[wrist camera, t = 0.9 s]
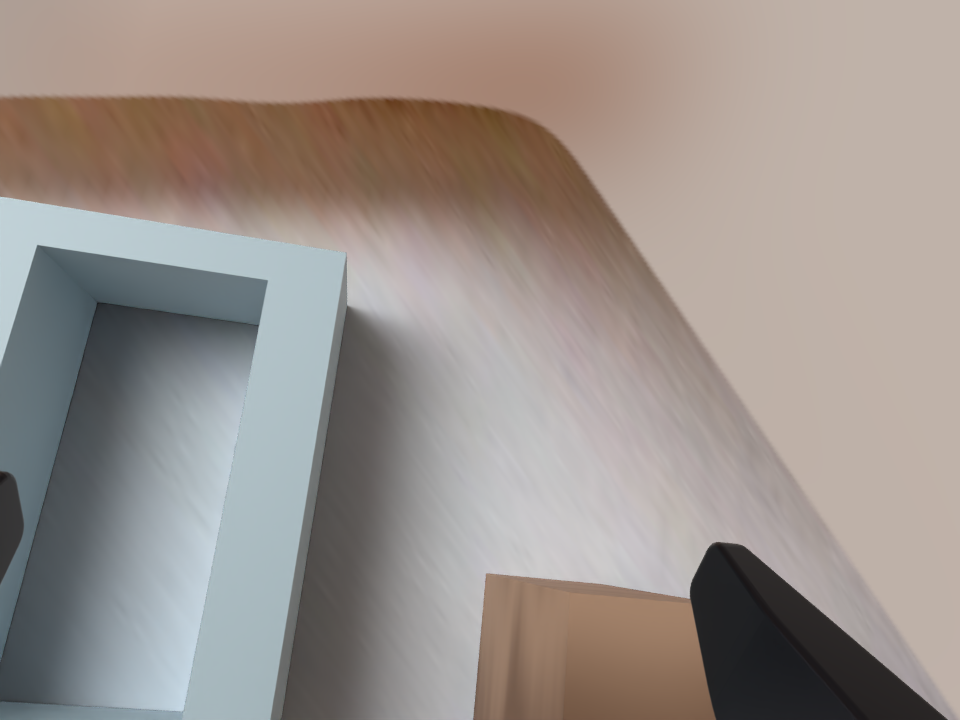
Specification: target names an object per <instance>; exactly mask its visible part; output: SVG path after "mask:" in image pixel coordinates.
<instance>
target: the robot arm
mask: <svg viewBox="0 0 960 720" xmlns="http://www.w3.org/2000/svg"><path fill="white" fill-rule="evenodd" d="M23 532H24V517H23V512H22V507H21V501H20V496H19V491H18V485H17V481H16V478H15V477H14V476H13V475H12V474H11V473H9V472H6V471H0V585H1V583H2V581H3V578H4V576H5V574H6V572H7V570H8V568H9V566H10V564H11V561H12V559H13V557H14V555H15V553H16V551H17V549H18V547H19V545H20V542H21V540H22V536H23ZM690 600H691V605H692V611H693V616H694V621H695V626H696V631H697V636H698V641H699V646H700V651H701V656H702V661H703V666H704V671H705V676H706V681H707V686H708V691H709V695H710V700H711V704H712V708H713V711H714V715H715V718H716V720H947V719H946V718H945V717H944V716H943V715H942V714H940V713H939V712H938V711H937V710H936V709H935V708H933V707H932V706H931V705H930V704H929V703H928V702H926V701H925V700H924V699H923V698H922V697H921V696H919V695H918V694H917V693H916V692H915V691H913V690H912V689H911V688H910V687H909V686H908V685H906V684H905V683H904V682H903V681H902V680H901V679H899V678H898V677H897V676H896V675H895V674H894V673H892V672H891V671H890V670H889V669H888V668H887V667H885V666H884V665H883V664H882V663H881V662H879V661H878V660H877V659H876V658H875V657H874V656H872V655H871V654H870V653H869V652H868V651H867V650H865V649H864V648H863V647H862V646H861V645H860V644H858V643H857V642H856V641H855V640H854V639H853V638H851V637H850V636H849V635H848V634H847V633H845V632H844V631H843V630H842V629H841V628H840V627H838V626H837V625H836V624H835V623H834V622H833V621H831V620H830V619H829V618H828V617H827V616H826V615H824V614H823V613H822V612H821V611H820V610H819V609H817V608H816V607H815V606H814V605H813V604H811V603H810V602H809V601H808V600H807V599H806V598H804V597H803V596H802V595H801V594H800V593H799V592H797V591H796V590H795V589H794V588H793V587H792V586H790V585H789V584H788V583H787V582H786V581H785V580H783V579H782V578H781V577H780V576H779V575H777V574H776V573H775V572H774V571H773V570H772V569H770V568H769V567H768V566H767V565H766V564H765V563H763V562H762V561H761V560H760V559H759V558H758V557H756V556H755V555H754V554H753V553H752V552H751V551H749V550H748V549H747V548H746V547H744V546H742V545H739V544H733V543H723V542H716V543H713V544H712V545H710V546H709V548H708V549H707V551H706V553H705V555H704V557H703V559H702V561H701V564H700V566H699V568H698V570H697V572H696V574H695V576H694V578H693V580H692V582H691V587H690Z"/></svg>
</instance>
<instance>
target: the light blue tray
mask: <svg viewBox="0 0 960 720" xmlns="http://www.w3.org/2000/svg"><path fill="white" fill-rule="evenodd" d="M97 302H101V303H108V304H115V305H122V306H129V307H136V308H143V309H150V310H157V311H163V312H170V313H177V314H184V315H191V316H198V317H205V318H212V319H219V320H226V321H233V322H240V323H247V324H254V325H259V329H258V334H257V339H256V344H255V349H254V355H253V360H252V365H251V370H250V375H249V380H248V385H247V390H246V395H245V400H244V406H243V411H242V416H241V421H240V426H239V431H238V436H237V441H236V446H235V451H234V457H233V462H232V467H231V472H230V477H229V482H228V487H227V492H226V497H225V502H224V508H223V513H222V518H221V523H220V528H219V533H218V538H217V543H216V548H215V553H214V559H213V564H212V569H211V574H210V579H209V584H208V589H207V594H206V599H205V604H204V610H203V615H202V620H201V625H200V630H199V635H198V640H197V645H196V650H195V655H194V661H193V666H192V671H191V676H190V681H189V686H188V691H187V696H186V701H185V706H184V712H176V711H158V710H141V709H124V708H107V707H90V706H73V705H56V704H39V703H22V702H5V701H0V720H281V718H282V712H283V706H284V699H285V693H286V687H287V681H288V674H289V668H290V662H291V655H292V649H293V643H294V637H295V630H296V624H297V618H298V611H299V605H300V599H301V593H302V586H303V580H304V574H305V567H306V561H307V555H308V549H309V542H310V536H311V530H312V523H313V517H314V511H315V505H316V498H317V492H318V486H319V479H320V473H321V467H322V461H323V454H324V448H325V442H326V435H327V429H328V423H329V417H330V410H331V404H332V398H333V391H334V385H335V379H336V373H337V366H338V360H339V354H340V347H341V341H342V335H343V329H344V322H345V316H346V310H347V254H346V253H344V252H338V251H332V250H326V249H320V248H314V247H307V246H301V245H295V244H289V243H283V242H277V241H270V240H264V239H258V238H252V237H246V236H240V235H233V234H227V233H221V232H215V231H209V230H203V229H196V228H190V227H184V226H178V225H172V224H165V223H159V222H153V221H147V220H141V219H135V218H128V217H122V216H116V215H110V214H104V213H98V212H91V211H85V210H79V209H73V208H67V207H61V206H54V205H48V204H42V203H36V202H30V201H24V200H17V199H11V198H5V197H0V471H6V472H9V473H11V474H12V475H13V476H14V477H15V478H16V481H17V485H18V491H19V496H20V501H21V507H22V512H23V517H24V532H23V536H22V540H21V542H20V545H19V547H18V549H17V551H16V553H15V555H14V557H13V559H12V561H11V564H10V566H9V568H8V570H7V572H6V574H5V576H4V578H3V581H2V583H1V585H0V662H1V658H2V654H3V651H4V647H5V643H6V640H7V636H8V632H9V628H10V625H11V621H12V617H13V614H14V610H15V606H16V602H17V599H18V595H19V591H20V588H21V584H22V580H23V576H24V573H25V569H26V565H27V562H28V558H29V554H30V551H31V547H32V543H33V539H34V536H35V532H36V528H37V525H38V521H39V517H40V513H41V510H42V506H43V502H44V499H45V495H46V491H47V487H48V484H49V480H50V476H51V473H52V469H53V465H54V461H55V458H56V454H57V450H58V447H59V443H60V439H61V436H62V432H63V428H64V424H65V421H66V417H67V413H68V410H69V406H70V402H71V398H72V395H73V391H74V387H75V384H76V380H77V376H78V372H79V369H80V365H81V361H82V358H83V354H84V350H85V346H86V343H87V339H88V335H89V332H90V328H91V324H92V320H93V317H94V313H95V309H96V306H97Z"/></svg>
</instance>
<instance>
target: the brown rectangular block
mask: <svg viewBox="0 0 960 720" xmlns="http://www.w3.org/2000/svg"><path fill="white" fill-rule="evenodd" d="M473 720H716V718H715V715H714V711H713V708H712V704H711V700H710V695H709V691H708V686H707V681H706V676H705V671H704V666H703V661H702V656H701V651H700V646H699V641H698V636H697V631H696V626H695V621H694V616H693V611H692V605H691V600H690V599H687V598H681V597H675V596H669V595H663V594H657V593H651V592H645V591H639V590H633V589H627V588H621V587H615V586H609V585H603V584H593V583H583V582H572V581H561V580H551V579H540V578H529V577H519V576H508V575H498V574H487V573H486V581H485V593H484V604H483V616H482V627H481V638H480V650H479V661H478V673H477V684H476V696H475V707H474V718H473Z"/></svg>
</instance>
